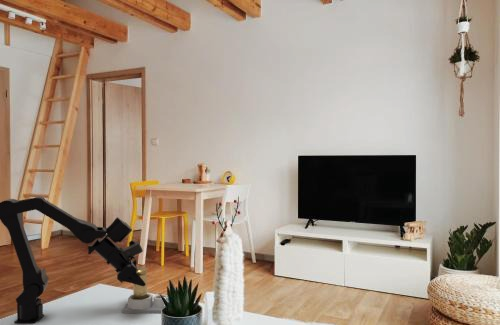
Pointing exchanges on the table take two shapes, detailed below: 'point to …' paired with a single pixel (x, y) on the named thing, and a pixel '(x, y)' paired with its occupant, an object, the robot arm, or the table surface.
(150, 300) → the manifold plate
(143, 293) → the gold metal cylinder
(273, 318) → the table surface
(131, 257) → the robot arm
